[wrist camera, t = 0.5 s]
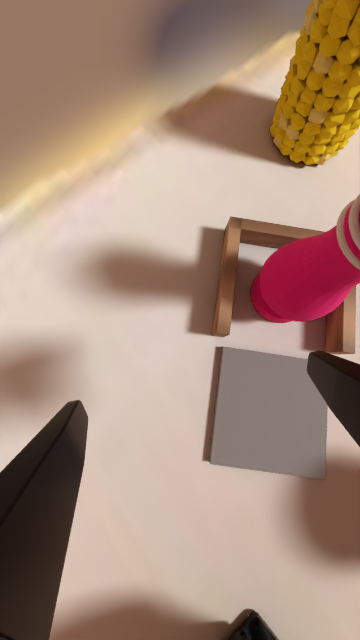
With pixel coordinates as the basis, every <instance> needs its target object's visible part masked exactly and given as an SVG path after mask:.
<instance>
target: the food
mask: <svg viewBox="0 0 360 640" xmlns="http://www.w3.org/2000/svg"><path fill="white" fill-rule="evenodd" d="M300 35H301V36H300V37H299V39H298V40H297V41H296V52H295V55H294V57H293V58H292V59H291V60H290V67H289V72H288V74H287V75H286V76H285V78H286V81H285V82H284V84H283V86H282V88H281V93H282V94H281V95H280V98H279V99H278V103H277V107H276V111H275V113H274V117H273V121H272V122H273V124H272V126H271V127H270V132H271V136H272V137H274V136H275V137H274V140H273V142H274V143H275V145H276V146H277V147H278V148H279V150H280V151H281V153H282V154H283V155H290V160H292V161H294V162H296V163H298V162H300V161H303V162H304V163H305V164H306V165H310V164H316V163H317V164H319V165H323V164H324V163H325V162H326V161H327V160H328V159H329V158H331V157H333V156H335V155H336V154H337V153H338V151H339V150H340V149H343V148H344V146H345V145H346V144H347V143H348V139H349V138H350V137H352V136H353V134H354V133H355V131H356V130H357V129H358V128H359V126H360V0H313V1H312V3H311V4H310V5H309V7H308V8H307V10H306V21H305V25H304V27H303V28H302V30H301V31H300Z"/></svg>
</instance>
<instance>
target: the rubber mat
mask: <svg viewBox="0 0 360 640" xmlns="http://www.w3.org/2000/svg"><path fill="white" fill-rule="evenodd" d="M307 363H308V359H302V358H295V357H289V356H282V355H275V354H269V353H262V352H255V351H249V350H242V349H235V348H229V347H222V352H221V361H220V370H219V379H218V387H217V396H216V405H215V414H214V423H213V432H212V440H211V449H210V458H209V462H210V464H214V465H222V466H229V467H236V468H243V469H250V470H258V471H265V472H272V473H279V474H287V475H294V476H301V477H308V478H316V479H323V480H325V467H326V435H327V404H326V402H325V400H324V399H323V397H322V396H321V394H320V393H319V391H318V389H317V388H316V386H315V385H314V383H313V382H312V380H311V378H310V377H309V375H308V373H307Z"/></svg>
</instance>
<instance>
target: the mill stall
mask: <svg viewBox="0 0 360 640" xmlns="http://www.w3.org/2000/svg"><path fill="white" fill-rule="evenodd" d="M323 233H325V232H322V231H316V230H310V229H304V228H297V227H291V226H285V225H279V224H273V223H267V222H261V221H255V220H249V219H242V218H236V217H230V219H229V222H228V224H227V226H226V228H225V233H224V241H223V249H222V257H221V266H220V274H219V282H218V290H217V298H216V307H215V315H214V323H213V331H212V335H213V336H219V337H225V336H227V335H229V334H230V325H231V316H232V306H233V297H234V288H235V279H236V270H237V260H238V251H239V242H242V243H248V244H254V245H260V246H267V247H273V248H281V247H283V246H284V245H286V244H288V243H291V242H293V241H296V240H298V239H302V238H307V237H312V236H316V235H320V234H323ZM355 320H356V286H355V287H354V288H353V289H352V290H351V291H350V293H349V294H348V296H347V297H346V298H345V299H344V301H343V302H342V303H341V304H340V305H339V306H338V307H337V308H336V309H334V310H333V311H332V312H330V313H329V314H327V318H326V347H325V352H326V353H332V354H355Z"/></svg>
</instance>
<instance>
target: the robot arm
mask: <svg viewBox="0 0 360 640" xmlns="http://www.w3.org/2000/svg"><path fill="white" fill-rule="evenodd" d="M307 373H308V375H309V377H310V378H311V380H312V382H313V383H314V385H315V386H316V388H317V389H318V391H319V393H320V394H321V396H322V397H323V399H324V400H325V402H326V404H327V405H328V406H329V408H330V409H331V411H332V412H333V413H334V415H335V416H336V417H337V418H338V420H339V421H340V422H341V424H342V425H343V426H344V427H345V429H346V430H347V431H348V433H349V434H350V435H351V436H352V438H353V439H354V440H355V442H356V443H357V444H358V445H359V447H360V364H357V363H354V362H351V361H349V360H346V359H343V358H340V357H337V356H334V355H332V354H329V353H326V352H323V351H316V352H311V353H310V354H309V356H308V363H307ZM87 428H88V416H87V413H86V411H85V409H84V406H83V404H82V402H81V401H80V400H75V401H70V402H68V403H67V404H66V405H65V406H64V407H63V408H62V409H61V410H60V411H59V412H58V413H57V414H56V415H55V416H54V417H53V418H52V419H51V420H50V421H49V422H48V423H47V424H46V426H45V427H44V428H43V429H42V430H41V431H40V432H39V433H38V434H37V435H36V436H35V437H34V438H33V439H32V440H31V441H30V442H29V443H28V444H27V445H26V446H25V447H24V448H23V450H22V451H21V452H20V453H19V454H18V455H17V456H16V457H15V458H14V459H13V460H12V461H11V462H10V463H9V464H8V465H7V466H6V467H5V468H4V469H3V470H2V471H1V472H0V640H49V637H50V632H51V627H52V622H53V617H54V612H55V607H56V602H57V597H58V592H59V587H60V582H61V577H62V572H63V567H64V562H65V557H66V552H67V547H68V542H69V537H70V532H71V527H72V522H73V517H74V512H75V507H76V502H77V497H78V492H79V487H80V482H81V477H82V472H83V466H84V460H85V450H86V439H87ZM254 621H257V622H254ZM229 640H279V639H278V638H277V637H276V636H275V634H274V633H273V632H272V630H271V629H270V628H269V627H268V625H267V624H266V623H265V621H264V620H263V619H262V618H261V616H260V615H259V614H258V613H257V612H253V613H251V614H250V615H249V616H248V618H247V619H246V620H245V621H244V622H243V623H242V625H241V626H240V627H239V628H238V629H237V630H236V631H235V633H234V634H233V635H232V636H231V637H230V638H229Z"/></svg>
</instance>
